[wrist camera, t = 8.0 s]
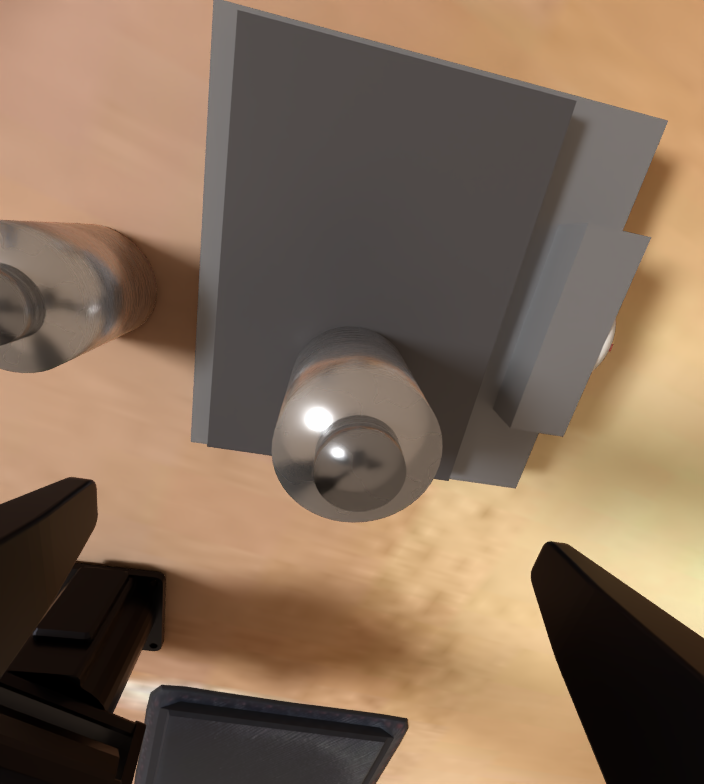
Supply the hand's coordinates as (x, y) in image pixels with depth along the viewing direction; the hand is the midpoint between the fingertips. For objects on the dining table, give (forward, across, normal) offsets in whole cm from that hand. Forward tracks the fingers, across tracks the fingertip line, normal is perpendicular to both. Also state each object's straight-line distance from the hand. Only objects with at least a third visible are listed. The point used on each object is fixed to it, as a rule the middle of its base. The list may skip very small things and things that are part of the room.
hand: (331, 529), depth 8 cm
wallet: (+13, -1, +34) cm, 37 cm away
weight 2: (+9, -1, 0) cm, 9 cm away
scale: (+12, -2, -3) cm, 13 cm away
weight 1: (+12, +11, -1) cm, 17 cm away
